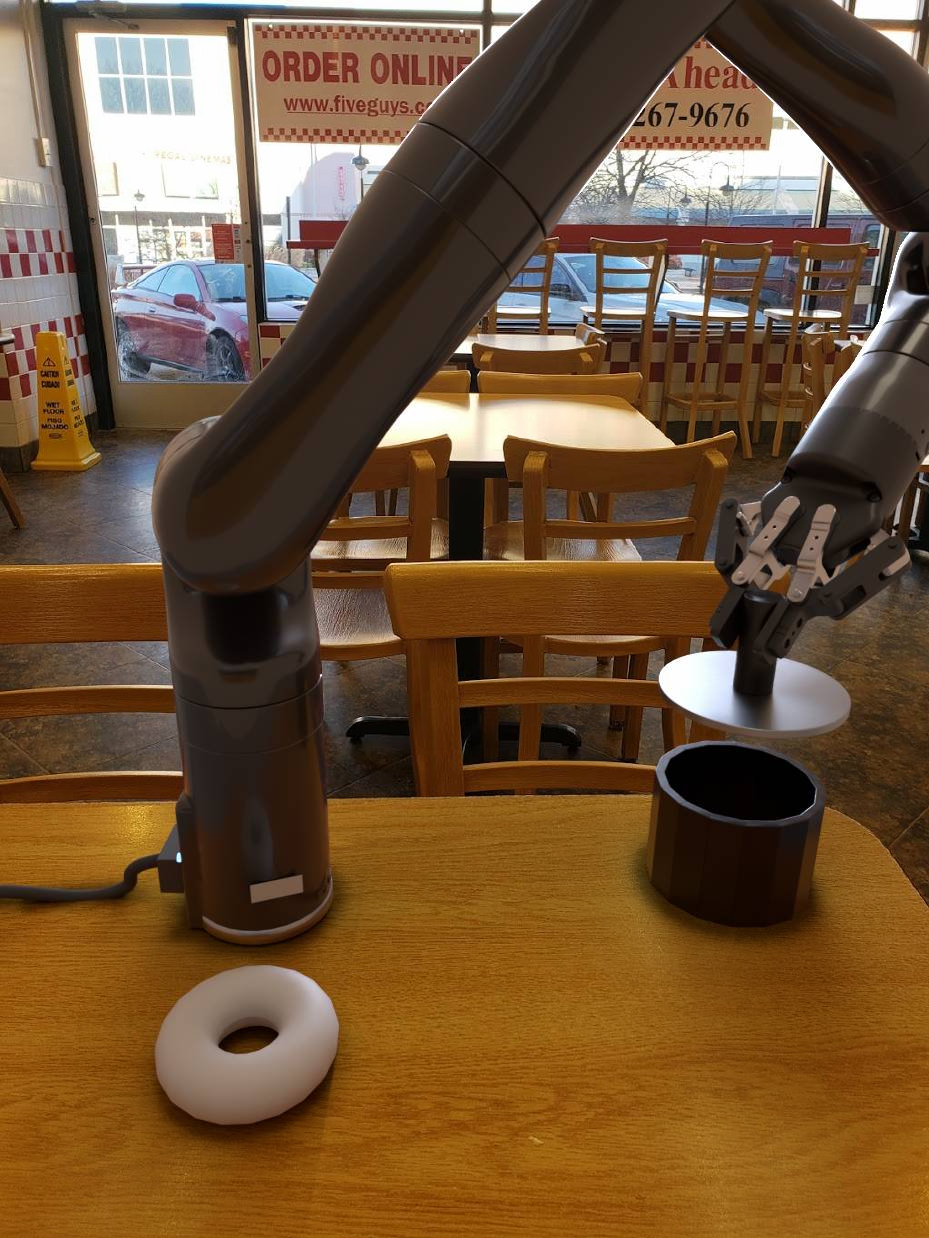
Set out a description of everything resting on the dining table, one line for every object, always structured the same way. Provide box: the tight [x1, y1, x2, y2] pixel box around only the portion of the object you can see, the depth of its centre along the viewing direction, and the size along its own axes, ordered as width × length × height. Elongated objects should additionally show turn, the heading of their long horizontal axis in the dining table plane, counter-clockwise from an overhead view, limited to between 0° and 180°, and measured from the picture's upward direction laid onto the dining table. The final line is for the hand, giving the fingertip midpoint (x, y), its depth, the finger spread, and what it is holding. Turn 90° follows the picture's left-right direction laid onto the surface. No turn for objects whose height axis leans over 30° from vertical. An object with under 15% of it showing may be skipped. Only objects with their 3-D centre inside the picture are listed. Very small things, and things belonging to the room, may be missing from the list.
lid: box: [657, 589, 852, 740], centre depth 62 cm, size 12×12×8 cm
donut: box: [154, 964, 340, 1126], centre depth 52 cm, size 10×4×10 cm
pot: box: [645, 740, 828, 929], centre depth 67 cm, size 11×11×8 cm
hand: (740, 648), depth 60 cm, fingers closed on lid, 2 cm apart
